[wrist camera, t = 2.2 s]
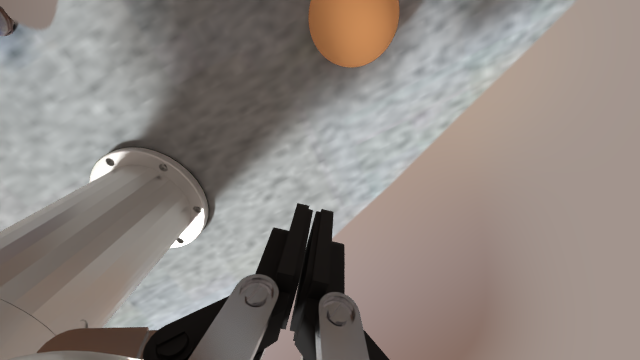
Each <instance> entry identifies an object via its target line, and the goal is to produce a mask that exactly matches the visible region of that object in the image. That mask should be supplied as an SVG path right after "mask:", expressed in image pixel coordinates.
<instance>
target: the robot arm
mask: <svg viewBox="0 0 640 360" xmlns="http://www.w3.org/2000/svg"><path fill="white" fill-rule="evenodd" d="M312 212H313V210H310V209H309V206H307V205H303V204H299V203H297V207H296V210H295V213H294V217H293V220H292V224H291V227H290V231H287V230H282V229H278V228H273V230H272V232H271V235H270V237H269V240H268V243H267V245H266V248H265V250H264V253H263V256H262V258H261V261H260V263H259V266H258V269H257V271H256V274H253V275H249V276H247V277H245V278H243V279H242V280H241V281H240V282H239V283H238V284H237V285H236V287H235V289H234V290H233V292H232V293H231V295H230V296H228V297H226V298H224V299H222V300H220V301H217V302H215V303H213V304H211V305H209V306H207V307H204V308H202V309H200V310H198V311H196V312H194V313H191V314H189V315H187V316H185V317H183V318H181V319H178V320H176V321H174V322H172V323H170V324H168V325H166V326H164V327H162V328H161V329H159V330H149V329H148V327H127V328H103V327H104V326H105V324H106V323H107V322H108V321H109V320H110V318H111V317H112V316H113V315H114V314H115V313H116V311H117V310H118V309H119V308H120V307H121V305H122V304H123V303H124V302H125V301H126V300H127V298H128V297H129V296H130V295H131V294H132V292H133V291H134V290H135V289H136V288H137V286H138V285H139V284H140V283H141V282H142V281H143V279H144V278H145V277H146V276H147V275H148V273H149V272H150V271H151V270H152V269H153V267H154V266H155V265H156V264H157V263H158V262H159V260H160V259H161V258H162V257H163V256H164V254H165V253H166V252H167V251H168V250H169V248H175V247H180V246H184V245H186V244H188V243H190V242H192V241H193V240H194V239H196V238H197V237H198V235H199V234H200V233H201V232H202V230H203V229H204V227H205V225H206V223H207V219H208V204H207V199H206V197H205V194H204V192H203V189H202V188H201V186H200V185H199V183H198V182H197V180H196V179H195V178H194V177H193V176H192V175H191V173H190V172H189V171H188V170H186V169H185V168H184V167H183V166H182V165H180V164H179V163H178V162H176V161H175V160H173V159H171V158H170V157H168V156H166V155H164V154H161V153H159V152H157V151H153V150H149V149H146V148H137V147H129V148H121V149H118V150H115V151H113V152H110V153H108V154H106V155H104V156H103V157H102V158H101V159H99V160H98V161H97V162H96V164H95V165H94V167H93V168H92V171H91V175H90V183H88V184H87V185H85V186H83V187H81V188H79V189H77V190H76V191H74V192H72V193H70V194H68V195H66V196H65V197H63V198H61V199H59V200H57V201H56V202H54V203H52V204H50V205H48V206H46V207H45V208H43V209H41V210H39V211H37V212H35V213H34V214H32V215H30V216H28V217H26V218H25V219H23V220H21V221H19V222H17V223H15V224H14V225H12V226H10V227H8V228H6V229H4V230H3V231H1V232H0V360H262V358H263V355H264V353H265V349H266V348H267V347H268V346H270V345H271V344H273V343H274V342H276V341H277V340H278V336H279V333H280V329H286V325H287V322H288V319H289V315H290V312H291V308H292V304H293V301H294V298H295V294H296V290H297V295H296V300H295V306H294V311H293V316H292V321H291V326H290V331H295V333H294V339H293V341H295V345H296V347H297V348H298V350H299V352H300V353H301V357H300V360H389V359H388V358H387V356H386V355H385V354H384V353H383V352H382V351H381V349H380V348H379V347H378V346H377V345H376V344H375V342H374V341H373V340H372V339H371V338H370V337H369V335H368V334H367V333H366V332H365V331H364V330H363V326H362V321H361V317H360V312H359V309H358V307H357V305H356V303H355V302H354V301H353V300H352V299H351V298H350V297H349V296H347V295H345V294H344V244H341V243H337V242H332V228H333V212H332V211H328V210H323V209H322V210H321V212H318V211H316V214H315V218H314V221H313V225H312V229H311V232H310V236H309V240H308V243H307V239H308V234H309V228H310V223H311V218H312ZM306 244H307V247H306ZM305 249H306V250H305ZM298 283H299V284H298ZM297 287H298V289H297Z"/></svg>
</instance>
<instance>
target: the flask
mask: <svg viewBox="0 0 640 360" xmlns="http://www.w3.org/2000/svg"><path fill="white" fill-rule="evenodd" d="M13 25H14V21H13V20H12V19H11V18H10V17H9V16H8V15H7V13H5V11H4V9H3V8H2V7H0V36H7V35H10V34H12V33H13V28H12V27H13ZM10 31H11V33H9V32H10ZM8 33H9V34H8ZM6 34H7V35H6Z"/></svg>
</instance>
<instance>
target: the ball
mask: <svg viewBox="0 0 640 360" xmlns="http://www.w3.org/2000/svg"><path fill="white" fill-rule="evenodd" d="M398 21H399V0H311V2H310V7H309V29H310V33H311V36H312V39H313V42H314V44H315V46H316V47H317V49H318V50H319V52H320V53H321V54H322V55H323V56H324V57H325V58H326V59H327V60H329V61H330V62H332V63H334V64H336V65H339V66H342V67H360V66H363V65H366V64H368V63H370V62H372V61H374V60H375V59H377V58H378V57H379V56H380V55H381V54H382V53H383V52H384V51H385V50H386V49H387V47H388V46H389V44H390V43H391V41H392V39H393V37H394V35H395V32H396V30H397V26H398Z"/></svg>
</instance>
